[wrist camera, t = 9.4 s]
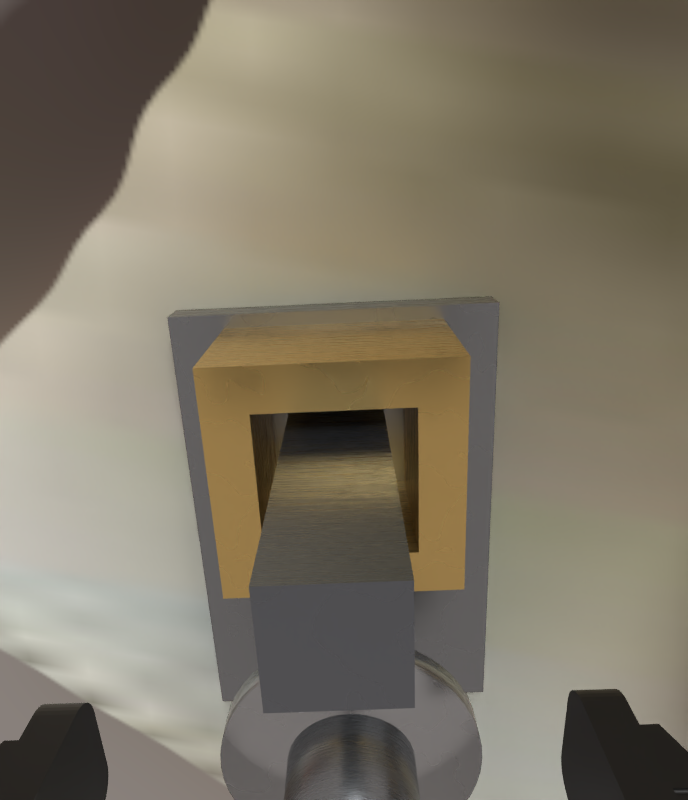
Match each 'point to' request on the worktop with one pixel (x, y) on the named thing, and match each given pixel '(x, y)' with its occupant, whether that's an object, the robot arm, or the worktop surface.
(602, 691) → the robot arm
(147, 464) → the worktop surface
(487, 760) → the worktop surface
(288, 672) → the grey square beam
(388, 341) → the rosette stand
